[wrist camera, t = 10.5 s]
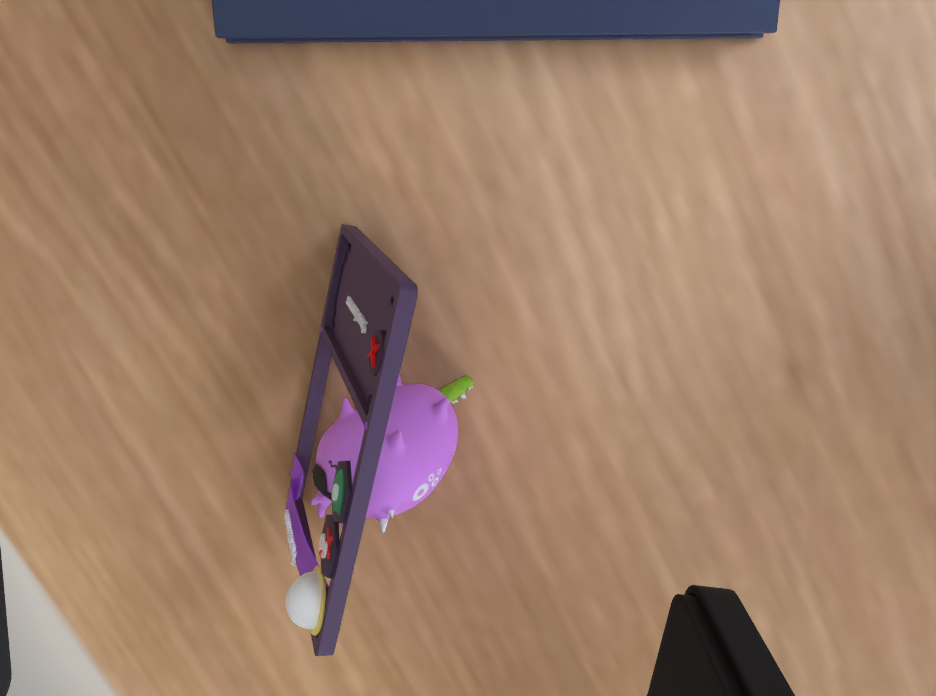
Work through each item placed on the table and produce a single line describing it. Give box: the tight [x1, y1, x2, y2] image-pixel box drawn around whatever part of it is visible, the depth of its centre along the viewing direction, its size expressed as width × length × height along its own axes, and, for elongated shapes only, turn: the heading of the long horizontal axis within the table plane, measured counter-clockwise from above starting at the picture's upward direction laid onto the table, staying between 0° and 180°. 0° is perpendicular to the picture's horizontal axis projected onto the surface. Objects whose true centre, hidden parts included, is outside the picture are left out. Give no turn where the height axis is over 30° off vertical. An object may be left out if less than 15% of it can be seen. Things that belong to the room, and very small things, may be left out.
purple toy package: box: [284, 224, 473, 656], centre depth 18 cm, size 7×5×9 cm
